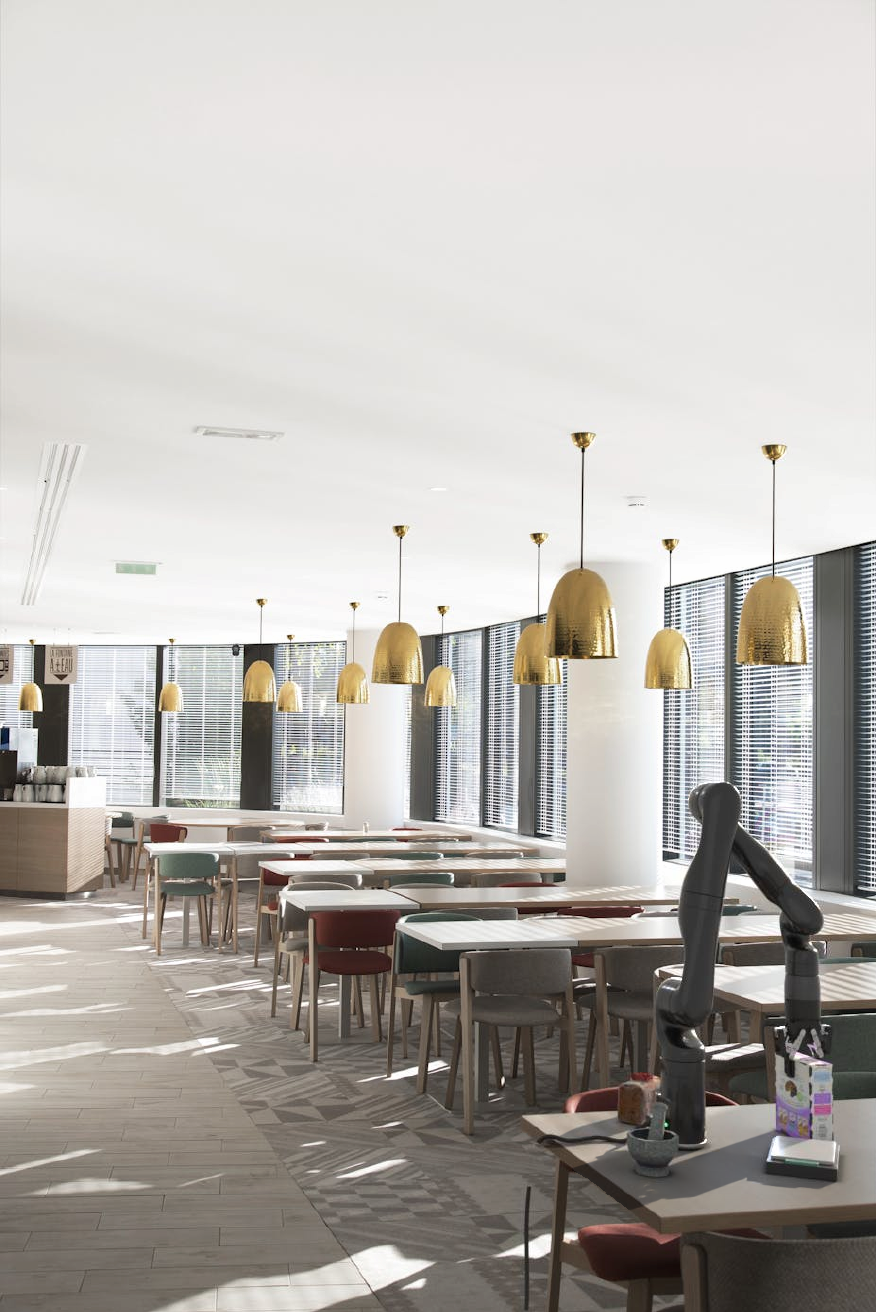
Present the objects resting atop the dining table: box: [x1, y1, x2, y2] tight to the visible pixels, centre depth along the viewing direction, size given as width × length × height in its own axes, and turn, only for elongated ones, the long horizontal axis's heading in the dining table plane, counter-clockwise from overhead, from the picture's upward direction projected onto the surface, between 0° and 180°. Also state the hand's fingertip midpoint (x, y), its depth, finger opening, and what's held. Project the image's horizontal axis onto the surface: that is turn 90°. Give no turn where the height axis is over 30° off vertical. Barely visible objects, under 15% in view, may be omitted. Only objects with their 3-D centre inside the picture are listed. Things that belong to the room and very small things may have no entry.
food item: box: [617, 1072, 660, 1126], centre depth 281 cm, size 14×8×10 cm, turn 149°
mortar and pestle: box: [626, 1102, 679, 1178], centre depth 242 cm, size 11×9×12 cm
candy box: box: [774, 1051, 835, 1142], centre depth 268 cm, size 14×6×16 cm, turn 17°
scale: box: [765, 1135, 841, 1182], centre depth 247 cm, size 18×13×3 cm
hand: (803, 1075), depth 268 cm, fingers closed on candy box, 6 cm apart
